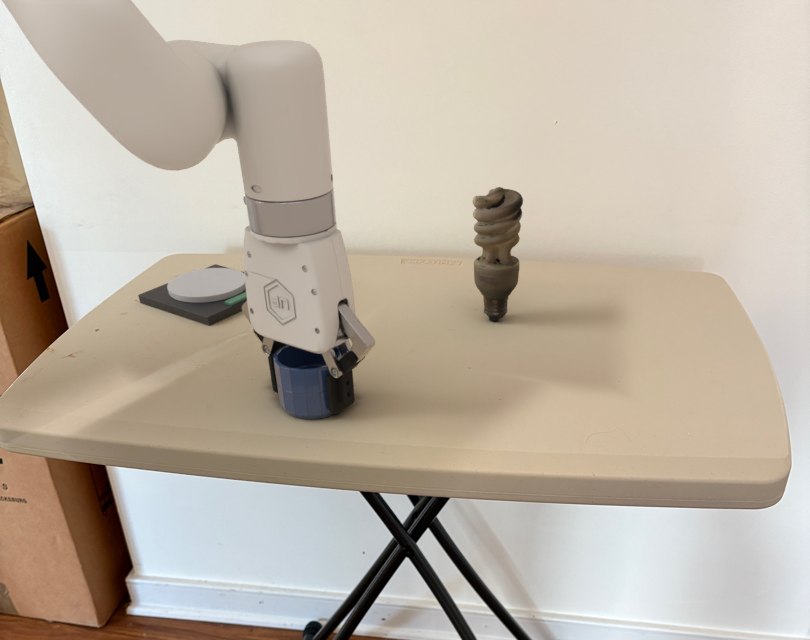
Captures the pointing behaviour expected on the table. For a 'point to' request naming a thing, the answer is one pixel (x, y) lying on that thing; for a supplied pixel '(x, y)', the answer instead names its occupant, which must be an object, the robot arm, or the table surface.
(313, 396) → the cup
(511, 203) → the light bulb
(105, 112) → the robot arm
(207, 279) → the scale
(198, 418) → the table surface
